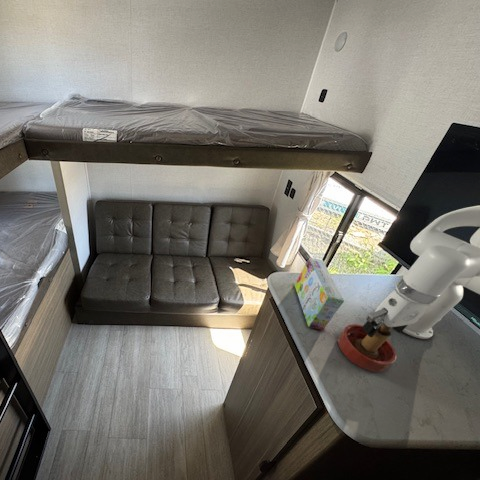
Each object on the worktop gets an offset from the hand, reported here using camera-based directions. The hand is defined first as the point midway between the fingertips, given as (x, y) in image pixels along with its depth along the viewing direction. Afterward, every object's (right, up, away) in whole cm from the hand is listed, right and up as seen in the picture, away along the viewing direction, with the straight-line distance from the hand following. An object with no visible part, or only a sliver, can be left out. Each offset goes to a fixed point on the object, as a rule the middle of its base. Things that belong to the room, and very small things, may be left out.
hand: (380, 330), depth 74 cm
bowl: (-1, -9, +6) cm, 11 cm away
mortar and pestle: (-1, -9, +5) cm, 10 cm away
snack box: (-9, +2, +21) cm, 23 cm away
